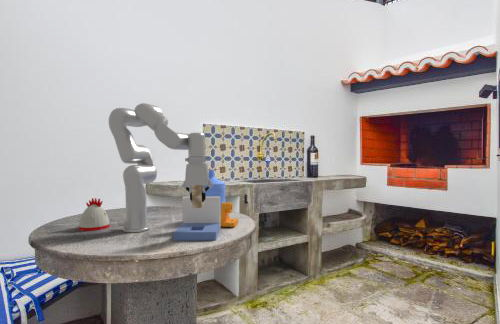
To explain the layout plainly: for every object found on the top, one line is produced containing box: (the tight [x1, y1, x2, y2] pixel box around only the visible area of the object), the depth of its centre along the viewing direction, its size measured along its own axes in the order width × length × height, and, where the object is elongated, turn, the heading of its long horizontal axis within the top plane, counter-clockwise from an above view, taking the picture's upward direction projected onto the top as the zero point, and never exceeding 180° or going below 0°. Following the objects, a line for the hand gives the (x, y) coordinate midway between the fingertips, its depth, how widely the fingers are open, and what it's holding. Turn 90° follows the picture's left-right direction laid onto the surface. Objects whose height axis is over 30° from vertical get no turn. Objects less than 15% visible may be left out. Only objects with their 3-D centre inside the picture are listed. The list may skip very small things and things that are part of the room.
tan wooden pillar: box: [192, 185, 204, 208], centre depth 137 cm, size 4×6×10 cm, turn 0°
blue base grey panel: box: [172, 196, 221, 242], centre depth 140 cm, size 18×20×16 cm
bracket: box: [220, 201, 239, 228], centre depth 158 cm, size 11×7×12 cm, turn 168°
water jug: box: [205, 169, 226, 214], centre depth 173 cm, size 16×16×28 cm
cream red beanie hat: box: [78, 197, 111, 232], centre depth 155 cm, size 14×14×15 cm
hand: (197, 201), depth 137 cm, fingers closed on tan wooden pillar, 4 cm apart
